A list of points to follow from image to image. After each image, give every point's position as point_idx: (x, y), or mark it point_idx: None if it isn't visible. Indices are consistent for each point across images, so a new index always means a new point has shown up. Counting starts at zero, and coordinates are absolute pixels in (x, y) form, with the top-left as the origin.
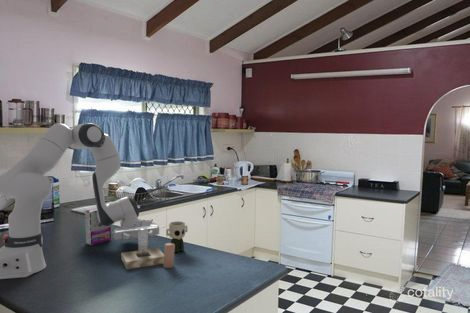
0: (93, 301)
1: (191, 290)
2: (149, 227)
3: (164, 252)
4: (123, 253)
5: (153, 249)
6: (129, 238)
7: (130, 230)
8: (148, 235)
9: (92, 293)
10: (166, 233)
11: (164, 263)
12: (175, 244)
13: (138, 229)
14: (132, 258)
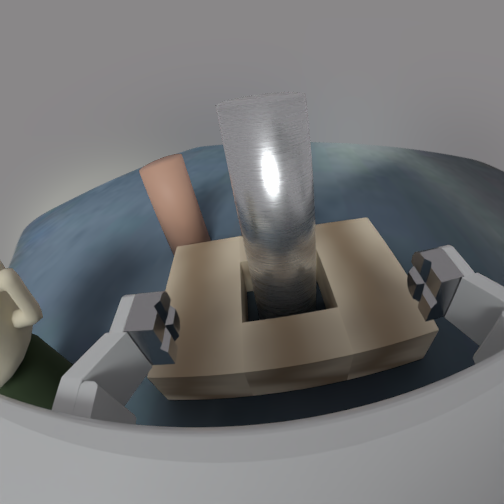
0: (388, 153)
1: (205, 166)
2: (42, 451)
3: (191, 189)
4: (420, 317)
5: (191, 355)
6: (416, 272)
7: (482, 366)
8: (171, 337)
9: (404, 167)
10: (32, 300)
11: (205, 226)
12: (51, 347)
13: (299, 94)
14: (346, 243)
